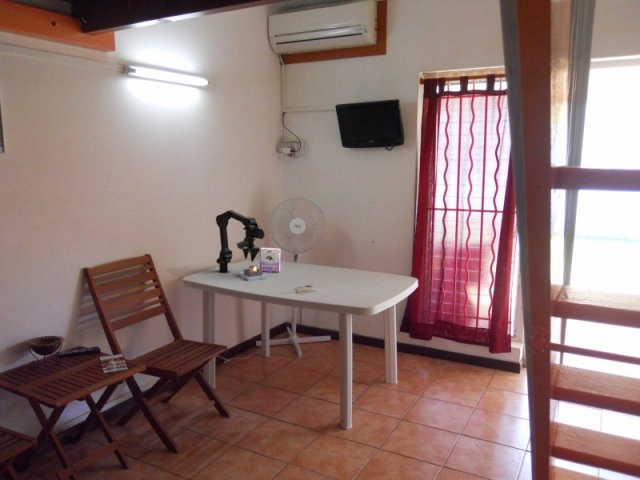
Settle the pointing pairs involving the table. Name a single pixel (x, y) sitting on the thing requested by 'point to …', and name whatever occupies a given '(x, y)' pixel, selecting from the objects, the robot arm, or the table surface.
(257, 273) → the grey square socket base
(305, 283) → the table surface
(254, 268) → the copper canister
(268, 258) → the candy box
